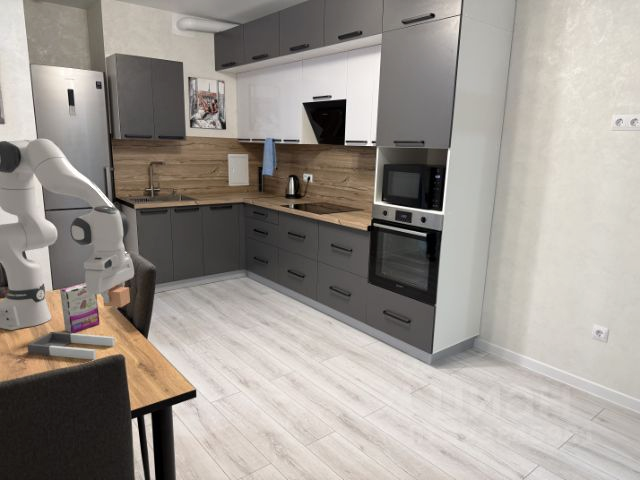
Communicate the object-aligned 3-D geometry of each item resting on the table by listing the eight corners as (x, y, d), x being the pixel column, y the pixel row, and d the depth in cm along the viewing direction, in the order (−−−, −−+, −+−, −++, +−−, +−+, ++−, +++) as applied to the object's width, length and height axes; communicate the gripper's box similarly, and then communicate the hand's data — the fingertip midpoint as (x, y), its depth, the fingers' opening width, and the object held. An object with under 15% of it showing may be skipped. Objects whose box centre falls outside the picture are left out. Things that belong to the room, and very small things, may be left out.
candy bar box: (92, 321, 176) (88, 281, 172) (100, 324, 173) (96, 283, 170) (63, 331, 166) (59, 288, 163) (71, 334, 164) (66, 291, 160)
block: (103, 306, 143) (102, 291, 142) (113, 300, 148) (112, 286, 147) (121, 307, 142) (119, 292, 141) (130, 302, 147) (128, 287, 146)
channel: (49, 355, 147) (48, 346, 146) (73, 341, 158) (72, 333, 157) (94, 359, 145) (93, 350, 144) (114, 345, 155) (114, 337, 155)
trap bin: (28, 353, 148) (27, 344, 148) (52, 339, 159) (52, 331, 158) (49, 355, 147) (48, 346, 146) (73, 341, 158) (72, 333, 157)
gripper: (120, 249, 153) (123, 288, 156) (79, 265, 133) (84, 309, 136) (137, 250, 152) (140, 289, 155) (98, 266, 132) (102, 310, 135)
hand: (113, 299), depth 145 cm, fingers closed on block, 5 cm apart
